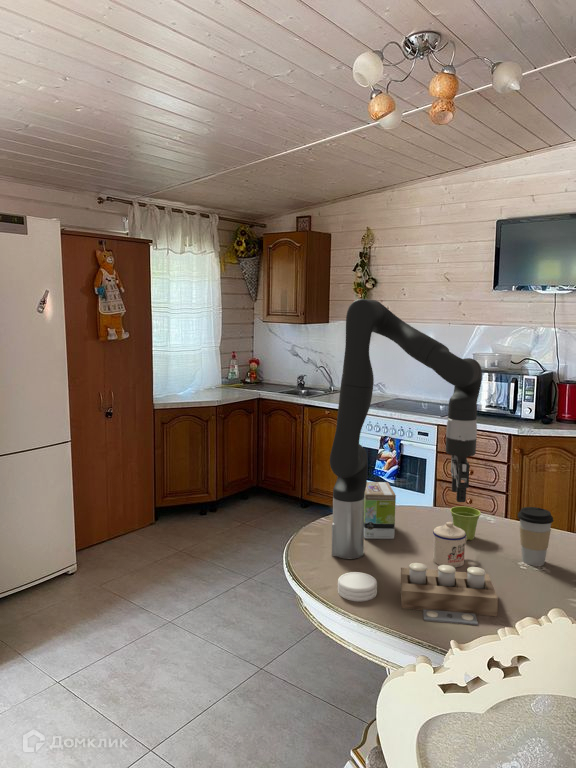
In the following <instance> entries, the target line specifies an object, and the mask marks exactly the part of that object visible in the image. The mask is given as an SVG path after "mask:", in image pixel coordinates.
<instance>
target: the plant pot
mask: <svg viewBox="0 0 576 768" xmlns="http://www.w3.org/2000/svg"><path fill="white" fill-rule="evenodd" d="M449 511H450V513H451V517H452V523H453V525H454V526H456V527H458V528H461V529H462V530H464V531H465V534H466V537H467V541H468V540H470V541H472V540H474V539H475V535H476V532H477V531H476V530H477V525H478V520H479V519H480V516H481V515H482V513H481V511H480V510H479V509H477V508H474V507H471V506H462V505H461V506H460V505H459V506H453V507H451V508H450V509H449Z"/></svg>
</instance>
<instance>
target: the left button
mask: <svg viewBox="0 0 576 768" xmlns="http://www.w3.org/2000/svg"><path fill="white" fill-rule="evenodd" d="M408 568H410V577H409V582H410V583H411V584H420V585H424V584H425V583H426V569H427V568H428V567H427V565H426V564H425V563H419V562H412V563H410V564H409V567H408Z"/></svg>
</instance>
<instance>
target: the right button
mask: <svg viewBox="0 0 576 768" xmlns="http://www.w3.org/2000/svg"><path fill="white" fill-rule="evenodd" d="M467 572H468V576H467V586H468V587H469V588H472V589H484V581H485V574H486V570H485V569H484V568H481V567H477V566H469V567H468V568H467Z"/></svg>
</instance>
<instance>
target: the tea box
mask: <svg viewBox="0 0 576 768" xmlns="http://www.w3.org/2000/svg"><path fill="white" fill-rule="evenodd" d="M396 496H397V495H396V493H395V491H394V490H393V488H392V487H391V484H390V483H389V482H388V481H387V482H385V481H384V482H383V481H367V485H366V489H365V493H364V539H374V540H375V539H376V540H386V539H387V540H392V539H395V527H396V525H395V524H396V502H397V500H396Z"/></svg>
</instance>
